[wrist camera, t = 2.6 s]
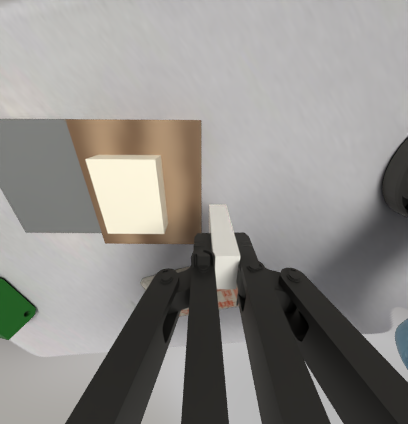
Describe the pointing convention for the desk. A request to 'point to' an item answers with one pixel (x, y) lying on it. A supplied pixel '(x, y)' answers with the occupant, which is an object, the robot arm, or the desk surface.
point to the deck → (171, 166)
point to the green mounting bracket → (13, 311)
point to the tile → (130, 193)
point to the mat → (44, 177)
